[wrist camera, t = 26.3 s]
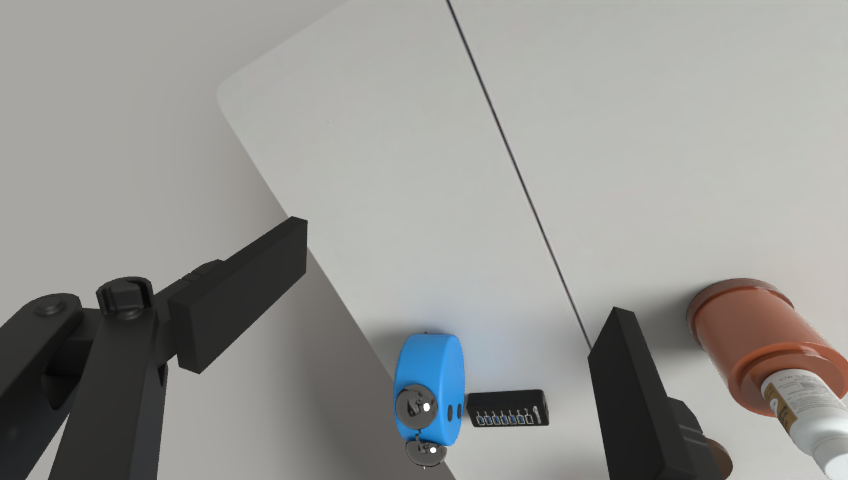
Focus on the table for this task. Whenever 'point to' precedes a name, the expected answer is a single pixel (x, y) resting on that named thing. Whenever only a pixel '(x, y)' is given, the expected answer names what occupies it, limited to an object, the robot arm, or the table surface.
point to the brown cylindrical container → (759, 340)
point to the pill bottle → (811, 418)
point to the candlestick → (721, 458)
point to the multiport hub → (508, 409)
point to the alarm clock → (429, 396)
